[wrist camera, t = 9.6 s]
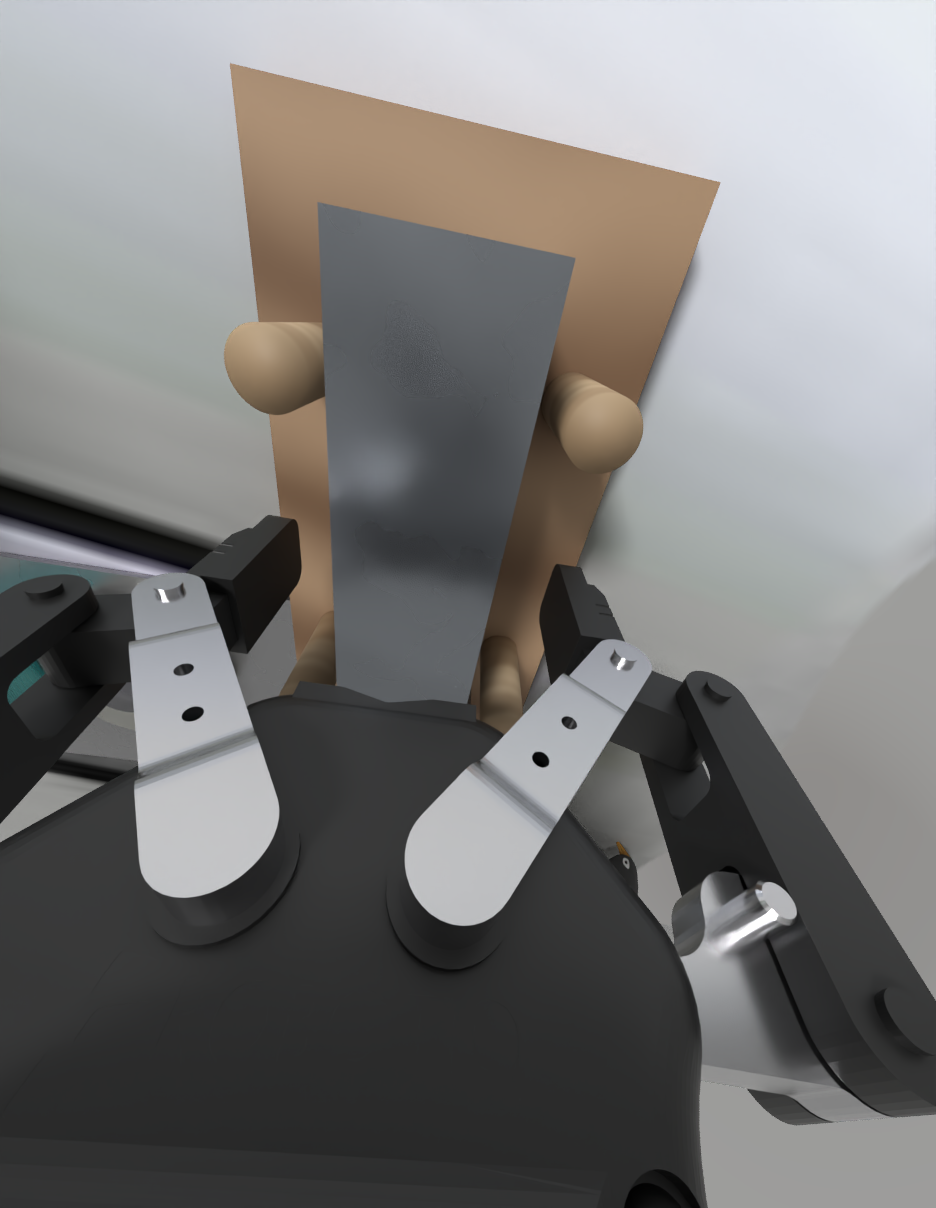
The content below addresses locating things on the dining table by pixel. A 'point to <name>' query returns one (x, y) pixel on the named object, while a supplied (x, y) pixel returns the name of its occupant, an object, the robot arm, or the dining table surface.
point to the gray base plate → (254, 671)
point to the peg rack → (479, 208)
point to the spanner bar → (426, 437)
